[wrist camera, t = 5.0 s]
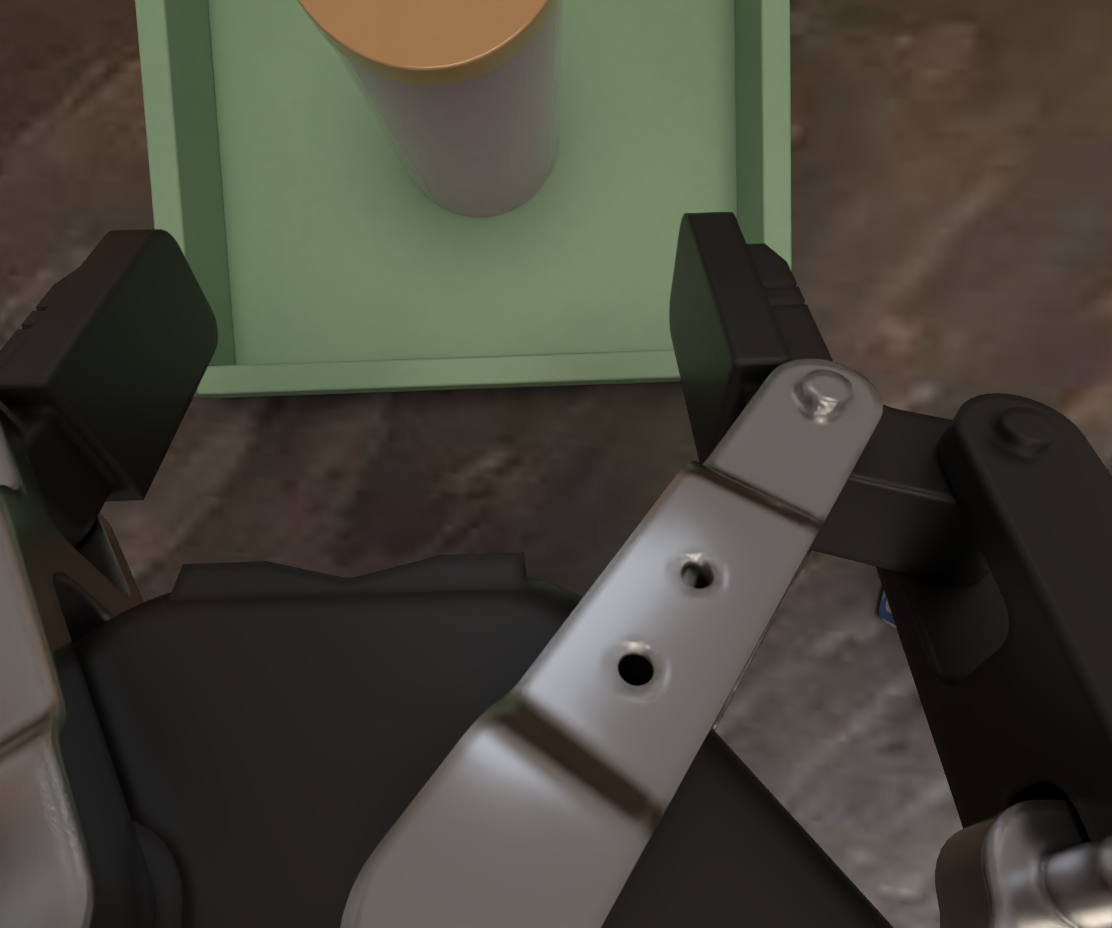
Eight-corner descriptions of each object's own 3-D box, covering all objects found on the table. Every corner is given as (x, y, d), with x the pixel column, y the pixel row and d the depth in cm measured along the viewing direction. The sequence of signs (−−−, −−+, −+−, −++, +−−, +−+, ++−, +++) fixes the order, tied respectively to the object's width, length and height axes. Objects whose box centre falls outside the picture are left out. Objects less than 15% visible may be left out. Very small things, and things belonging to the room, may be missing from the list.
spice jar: (398, 223, 20) (279, 74, 11) (389, 49, 20) (256, -251, 11) (564, 218, 20) (577, 64, 11) (559, 44, 20) (567, -259, 11)
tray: (220, 398, 21) (167, 396, 18) (182, -81, 20) (119, -164, 17) (759, 378, 21) (792, 373, 18) (754, -98, 20) (789, -184, 17)
